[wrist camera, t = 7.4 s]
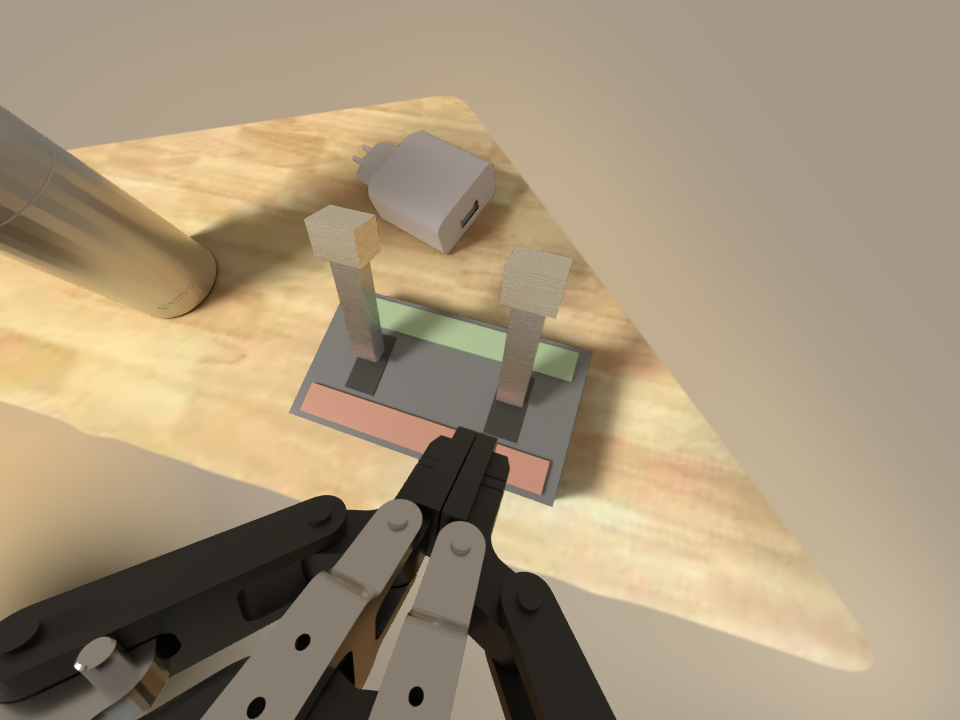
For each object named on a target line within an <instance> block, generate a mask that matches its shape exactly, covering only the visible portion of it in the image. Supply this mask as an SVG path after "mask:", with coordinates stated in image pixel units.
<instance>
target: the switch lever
mask: <svg viewBox="0 0 960 720" xmlns="http://www.w3.org/2000/svg"><path fill="white" fill-rule="evenodd" d="M572 260H573V259H572V258H568V257H563V256H559V255H555V254H550V253H546V252H541V251H537V250H532V249H528V248H523V247H519V246H516V247H515V249H514V251H513V253H512V254H511V256H510V258H509V259H508V261H507V263H506V264H505V267H504V275H503V282H502V289H501V297H500V304H501V305H505V306H509V307H511V311H510V317H509V323H508V329H507V335H506V341H505V347H504V353H503V359H502V366H501V372H500V378H499V384H498V390H497V396H496V400H498V401H502V402H505V403H508V404H511V405H515V406H518V407H521V408H522V406H523V402H524V399H525V396H526V393H527V389H528V385H529V381H530V377H531V373H532V370H533V366H534V362H535V358H536V354H537V350H538V346H539V342H540V338H541V335H542V331H543V327H544V323H545V319H546V316H547V317H551V318H555V319H556V316H557V312H558V309H559V306H560V302H561V299H562V296H563V292H564V289H565V285H566V282H567V278H568V275H569V271H570V268H571V264H572Z"/></svg>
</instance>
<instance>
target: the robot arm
mask: <svg viewBox="0 0 960 720" xmlns="http://www.w3.org/2000/svg"><path fill="white" fill-rule="evenodd" d="M0 255H3V256H5V257H8V258H10V259H13V260H15V261H18V262H20V263H23V264H25V265H28V266H30V267H32V268H35V269H37V270H40V271H42V272H45V273H47V274H50V275H52V276H55V277H57V278H60V279H62V280H64V281H67V282H69V283H72V284H74V285H77V286H79V287H82V288H84V289H87V290H89V291H92V292H94V293H96V294H99V295H101V296H104V297H106V298H109V299H111V300H113V301H116V302H118V303H121V304H123V305H126V306H128V307H131V308H133V309H136V310H138V311H140V312H143V313H145V314H148V315H150V316H153V317H157V318H173V317H177V316H180V315H182V314H185V313H187V312H189V311H190V310H192V309H193V308H195V307H196V306H197V305H198V304H199V303H200V302H202V301H203V299H204V298H205V297H206V296H207V294H208V293H209V291H210V290H211V288H212V286H213V283H214V280H215V278H216V262H215V259H214V257H213V255H212V254H211V252H210V251H209V250H207V249H206V248H205V247H203V246H202V245H201V244H199V243H198V242H196V241H195V240H193V239H192V238H191V237H189V236H188V235H186V234H185V233H183V232H182V231H181V230H179V229H178V228H176V227H175V226H174V225H172V224H171V223H169V222H168V221H166V220H165V219H164V218H162V217H161V216H159V215H158V214H156V213H155V212H153V211H152V210H151V209H149V208H148V207H146V206H145V205H143V204H142V203H141V202H139V201H138V200H136V199H135V198H133V197H132V196H131V195H129V194H128V193H126V192H125V191H123V190H122V189H120V188H119V187H118V186H116V185H115V184H113V183H112V182H110V181H109V180H108V179H106V178H105V177H103V176H102V175H100V174H99V173H97V172H96V171H95V170H93V169H92V168H90V167H89V166H87V165H86V164H85V163H83V162H82V161H80V160H79V159H77V158H76V157H74V156H73V155H72V154H70V153H69V152H67V151H66V150H64V149H63V148H62V147H60V146H59V145H57V144H56V143H54V142H53V141H51V140H50V139H49V138H47V137H45V136H44V135H42V134H41V133H40V132H38V131H37V130H35V129H34V128H32V127H31V126H30V125H28V124H27V123H25V122H24V121H22V120H21V119H20V118H18V117H17V116H15V115H14V114H12V113H11V112H9V111H8V110H7V109H5V108H4V107H2V106H1V105H0ZM497 442H498V438H497V437H494V436H490V435H487V434H484V433H481V432H479V433H478V431H474V430H471V429H468V428H465V427H462V426H458V428H457V429H456V431H455V433H454V435H453V437H452V438H449V437H446V436H443V435H440V436H439V437H438V438H436V439H435V440H433V441H432V442H430V444H429V445H428V447H427V448H426V450H425V452H424V454H423V455H422V456H421V458H420V460H419V461H418V464H416V466H415V468H414V469H413V471H412V472H411V474H410V475H409V477H408V479H407V480H406V482H405V483H404V485H403V487H402V488H401V490H400V491H399V493H398V495H397V496H396V497H395V499H394V500H391V501H389V502H387V503H385V504H383V505H382V506H381V507H380V508H379V509H376V510H366V511H365V510H346V506H345V504H344V502H343V501H342V500H341V499H339V498H337V497H335V496H331V495H322V496H317V497H314V498H311V499H309V500H306V501H303V502H301V503H298V504H296V505H293V506H291V507H288V508H285V509H283V510H280V511H277V512H275V513H272V514H269V515H267V516H264V517H262V518H259V519H256V520H254V521H251V522H249V523H246V524H243V525H240V526H238V527H235V528H233V529H230V530H227V531H225V532H222V533H219V534H217V535H214V536H212V537H209V538H206V539H204V540H201V541H198V542H196V543H193V544H191V545H188V546H185V547H183V548H180V549H178V550H175V551H172V552H169V553H167V554H164V555H162V556H159V557H157V558H154V559H151V560H148V561H146V562H143V563H141V564H138V565H135V566H133V567H130V568H128V569H125V570H122V571H120V572H117V573H115V574H112V575H109V576H106V577H104V578H101V579H99V580H96V581H93V582H91V583H88V584H85V585H83V586H80V587H78V588H75V589H72V590H70V591H67V592H65V593H62V594H59V595H57V596H54V597H51V598H49V599H46V600H43V601H41V602H38V603H36V604H33V605H30V606H28V607H26V608H24V609H21V610H19V611H17V612H16V613H13V614H12V615H10V616H8V617H7V618H5V619H4V620H2V621H1V622H0V720H135V719H136V718H137V717H139V716H142V715H143V714H145V713H146V712H147V711H148V710H149V709H150V708H151V707H152V706H153V704H154V703H155V701H156V699H157V697H158V696H159V694H160V693H161V691H162V690H163V688H164V686H165V684H166V682H167V679H168V678H170V677H171V676H173V675H175V674H177V673H179V672H181V671H183V670H185V669H187V668H188V667H190V666H192V665H194V664H196V663H198V662H199V661H201V660H203V659H205V658H207V657H209V656H211V655H213V654H214V653H217V652H218V651H220V650H222V649H224V648H226V647H228V646H230V645H232V644H233V643H235V642H237V641H239V640H241V639H243V638H245V637H247V636H248V635H250V634H252V633H254V632H256V631H258V630H259V629H261V628H263V627H265V626H267V625H269V624H271V623H273V622H274V621H276V620H278V619H280V618H281V619H280V620H279V622H278V623H277V624H276V625H275V627H274V628H273V629H272V630H271V632H270V633H269V634H268V635H267V637H266V638H265V639H264V640H263V642H262V643H261V644H260V645H259V647H258V648H257V649H256V650H255V652H254V653H253V654H252V655H251V656H249V657H246V658H243V659H241V660H239V661H237V662H235V663H233V664H231V665H229V666H227V667H226V668H224V669H222V670H220V671H219V672H217V673H215V674H214V675H212V676H210V677H209V678H207V679H205V680H203V681H202V682H200V683H198V684H197V685H195V686H193V687H192V688H190V689H188V690H187V691H185V692H183V693H182V694H180V695H178V696H177V697H175V698H173V699H172V700H170V701H168V702H166V703H165V704H163V705H162V706H160V707H158V708H156V709H155V710H153V711H151V712H150V713H148V714H146V715H145V716H143V717H141V718H140V719H138V720H450V715H451V711H452V706H453V701H454V697H455V692H456V687H457V682H458V677H459V673H460V669H461V664H462V659H463V654H464V650H465V645H466V640H467V635H469V636H471V637H472V638H473V639H474V640H475V641H476V642H477V643H478V644H479V645H480V646H481V647H482V648H483V649H484V650H485V655H486V659H487V662H488V665H489V668H490V672H491V675H492V678H493V681H494V684H495V687H496V691H497V693H498V696H499V700H500V703H501V706H502V709H503V713H504V716H505V719H506V720H616V718H615V716H614V714H613V712H612V710H611V708H610V706H609V704H608V702H607V700H606V698H605V696H604V694H603V692H602V690H601V688H600V686H599V684H598V682H597V680H596V678H595V676H594V674H593V672H592V670H591V668H590V666H589V664H588V662H587V660H586V658H585V656H584V654H583V652H582V650H581V648H580V646H579V644H578V642H577V640H576V638H575V636H574V634H573V632H572V630H571V628H570V626H569V625H568V622H567V620H566V618H565V617H564V614H563V612H562V610H561V608H560V606H559V604H558V603H557V600H556V598H555V596H554V594H553V593H552V591H551V589H550V587H549V586H548V585H547V583H546V582H545V581H544V580H543V579H541V578H540V577H539V576H537V575H535V574H533V573H530V572H518V573H515V572H514V571H513V570H511V569H510V568H509V567H508V566H507V565H505V564H504V563H503V562H502V561H501V560H500V559H499V558H498V557H497V555H496V553H495V552H494V549H493V547H492V543H491V535H492V531H493V528H494V525H495V521H496V518H497V515H498V511H499V508H500V504H501V501H502V498H503V494H504V490H505V487H506V483H507V479H508V475H509V472H510V465H509V461H508V456H505V455H501V454H498V453H495V451H496V447H497ZM425 555H426V556H428V557H430V559H429V562H428V565H427V568H426V570H425V573H424V576H423V579H422V582H421V585H420V587H419V590H418V593H417V596H416V599H415V602H414V604H413V607H412V609H411V611H410V612H409V613H408V614H407V616H406V618H405V621H404V623H403V626H402V628H401V631H400V634H399V637H398V639H397V642H396V645H395V648H394V650H393V653H392V656H391V659H390V661H389V664H388V667H387V670H386V673H385V675H384V678H383V681H382V683H381V686H380V689H379V691H373V690H362V688H363V686H364V684H365V682H366V680H367V678H368V676H369V674H370V672H371V669H372V667H373V665H374V662H375V659H376V656H377V653H378V650H379V648H380V645H381V643H382V641H383V639H384V637H385V635H386V634H387V632H388V630H389V628H390V626H391V624H392V622H393V621H394V619H395V617H396V615H397V613H398V611H399V609H400V608H401V606H402V604H403V602H404V600H405V598H406V596H407V595H408V593H409V591H410V589H411V587H412V585H413V583H414V582H415V579H416V576H417V572H418V570H419V568H420V566H421V564H422V561H423V559H424V557H425Z"/></svg>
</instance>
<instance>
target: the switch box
mask: <svg viewBox="0 0 960 720" xmlns="http://www.w3.org/2000/svg"><path fill="white" fill-rule="evenodd" d="M375 295H376V301H377V307H378V313H379V319H380V325H381V331H382V337H383V343H384V349H385V352H384V353H383V354H382V356H381V357H380V358H379V359H378V361H377V362H372V361H369V360H366V359H363V358H360V357H356V356H354V354H353V350H352V346H351V343H350V339H349V335H348V331H347V327H346V323H345V319H344V315H343V311H342V308H341V304H339V306H338V308H337V310H336V312H335V315H334V317H333V319H332V321H331V323H330V325H329V327H328V330H327V332H326V334H325V336H324V338H323V340H322V342H321V345H320V347H319V349H318V351H317V353H316V355H315V358H314V360H313V362H312V364H311V366H310V368H309V370H308V373H307V375H306V377H305V379H304V381H303V383H302V385H301V388H300V390H299V392H298V394H297V396H296V398H295V400H294V403H293V405H292V407H291V409H290V411H289V413H291V414H294V415H297V416H299V417H302V418H305V419H308V420H311V421H313V422H316V423H319V424H322V425H325V426H327V427H330V428H333V429H336V430H339V431H341V432H344V433H347V434H350V435H353V436H355V437H358V438H361V439H364V440H367V441H369V442H372V443H375V444H378V445H381V446H383V447H386V448H389V449H392V450H395V451H397V452H400V453H403V454H406V455H409V456H411V457H414V458H417V459H420V458H421V456H422V455H423V454H424V452H425V450H426V448H427V447H428V445H429V444H430V442H432V441H433V440H435V439H436V438H438V437H439V436H440V435H443V436H446V437H449V438H452V437H453V435H454V433H455V431H456V429H457V428H458V426H462V427H465V428H468V429H471V430H474V431H478V433H479V432H481V433H484V434H487V435H490V436H494V437H497V438H498V442H497V447H496V451H495V453H498V454H501V455H505V456H508V461H509V465H510V472H509V475H508V479H507V483H506V487H505V490H506V491H509V492H512V493H515V494H518V495H520V496H523V497H526V498H529V499H532V500H534V501H537V502H540V503H543V504H546V505H548V506H551V507H553V503H554V499H555V495H556V491H557V487H558V483H559V480H560V476H561V472H562V468H563V464H564V460H565V456H566V452H567V449H568V445H569V441H570V437H571V433H572V429H573V425H574V421H575V418H576V414H577V410H578V406H579V402H580V398H581V394H582V391H583V387H584V383H585V379H586V375H587V371H588V367H589V363H590V360H591V356H592V351H588V350H584V349H581V348H577V347H573V346H570V345H566V344H562V343H558V342H555V341H551V340H547V339H544V338H540V342H539V346H538V350H537V354H536V358H535V362H534V366H533V370H532V373H531V377H530V381H529V385H528V389H527V393H526V396H525V399H524V402H523V406H522V408H521V407H518V406H515V405H511V404H508V403H505V402H502V401H498V400H496V396H497V390H498V384H499V378H500V372H501V366H502V359H503V353H504V347H505V341H506V335H507V328H503V327H499V326H496V325H492V324H488V323H484V322H481V321H477V320H473V319H470V318H466V317H462V316H458V315H455V314H451V313H447V312H444V311H440V310H436V309H433V308H429V307H425V306H421V305H418V304H414V303H410V302H407V301H403V300H399V299H396V298H392V297H388V296H384V295H381V294H377V293H375Z"/></svg>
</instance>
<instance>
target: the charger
mask: <svg viewBox="0 0 960 720" xmlns="http://www.w3.org/2000/svg"><path fill="white" fill-rule="evenodd" d="M362 149H363V150H365V151H367V152H369V153H368V154H367V155H366V156H365V157H364V158H363V159H360V158H358V157H356V156H353V158H352V160H353V161H355V162H357V163H359V164H360V167H359V169H358V172H357V178H356V179H357V180H359V181H360V182H362V183H364V184H366V185H368V195H369V198H370V200H371V201H372V203H373V205H374V207H375V209H376V210H377V212H378V214H379V216H380V217H381V218H382V219H384V220H386V221H387V222H389V223H391V224H393V225H394V226H396V227H398V228H400V229H401V230H403V231H405V232H407V233H408V234H410V235H412V236H414V237H415V238H417V239H419V240H421V241H422V242H424V243H426V244H428V245H430V246H431V247H433V248H435V249H437V250H438V251H440V252H442V253H444V254H448V253H449V252H450V251H451V250H452V248H453V247H454V246H455V245H456V243H457V242H458V241H459V240H460V238H461V237H462V236H463V234H464V233H465V232H466V231H467V229H468V228H469V227H470V225H471V224H472V223H473V222H474V220H475V219H476V218H477V217H478V215H479V214H480V213H481V211H482V210H483V209H484V208H485V206H486V205H487V204H488V202H489V201H490V200H491V198H492V197H493V195H494V193H495V178H494V165H493V164H492V163H490V162H488V161H486V160H484V159H482V158H480V157H477V156H475V155H473V154H471V153H469V152H467V151H465V150H463V149H460V148H458V147H456V146H454V145H452V144H450V143H448V142H446V141H443V140H441V139H439V138H437V137H435V136H433V135H431V134H429V133H426V132H424V131H418V132H416V133H413V134H411V135H409V136H407V137H406V138H405V140H404V141H403V142H402V143H401V144H400V145H399V146H395V145H393V144H391V143H389V142H387V141H385V142H382V143H379V144H376V145H375V146H374V147H373V148H372V149H371V148H369V147H367V146H365V145H363V146H362ZM478 206H479V208H478V209H477V211H476V212H475V213H474V215H473V216H472V217H471V218H470V220H469V221H468V222H467V224H466V225H465V226H464V227H463V229H462V226H463V225H464V224H465V222H466V221H467V220H468V219H469V217H470V216H471V215H472V214H473V212H474V211H475V210H476V208H477V207H478Z"/></svg>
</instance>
